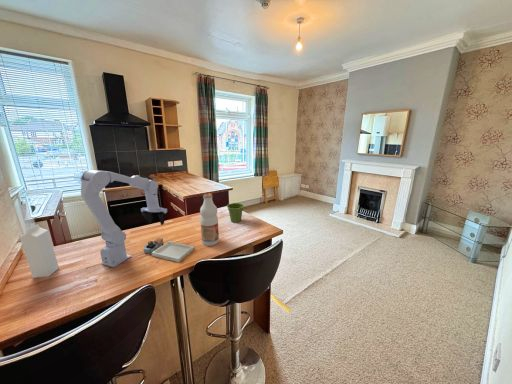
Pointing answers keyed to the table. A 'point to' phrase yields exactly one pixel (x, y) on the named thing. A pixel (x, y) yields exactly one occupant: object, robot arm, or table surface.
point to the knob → (150, 244)
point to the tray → (173, 251)
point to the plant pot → (235, 211)
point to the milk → (39, 252)
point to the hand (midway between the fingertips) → (156, 223)
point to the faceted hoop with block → (156, 245)
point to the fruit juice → (209, 221)
